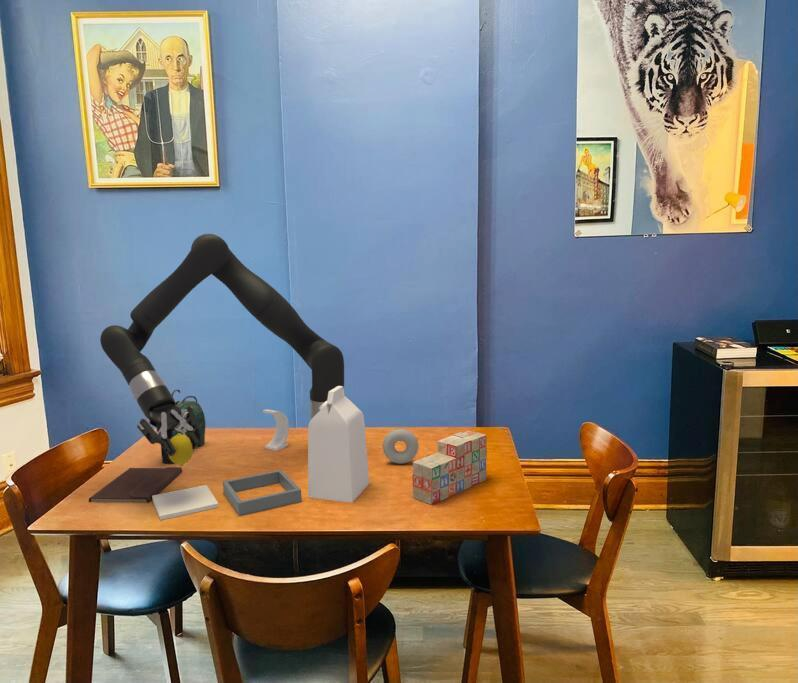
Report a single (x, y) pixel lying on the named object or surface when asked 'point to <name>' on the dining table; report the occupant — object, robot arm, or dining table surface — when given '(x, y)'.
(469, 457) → the stack of blocks
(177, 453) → the lemon
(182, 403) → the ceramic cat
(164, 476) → the notebook
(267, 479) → the grey square frame
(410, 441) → the donut
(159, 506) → the board
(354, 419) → the milk
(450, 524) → the dining table surface
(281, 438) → the headphone stand
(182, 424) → the robot arm
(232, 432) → the dining table surface
